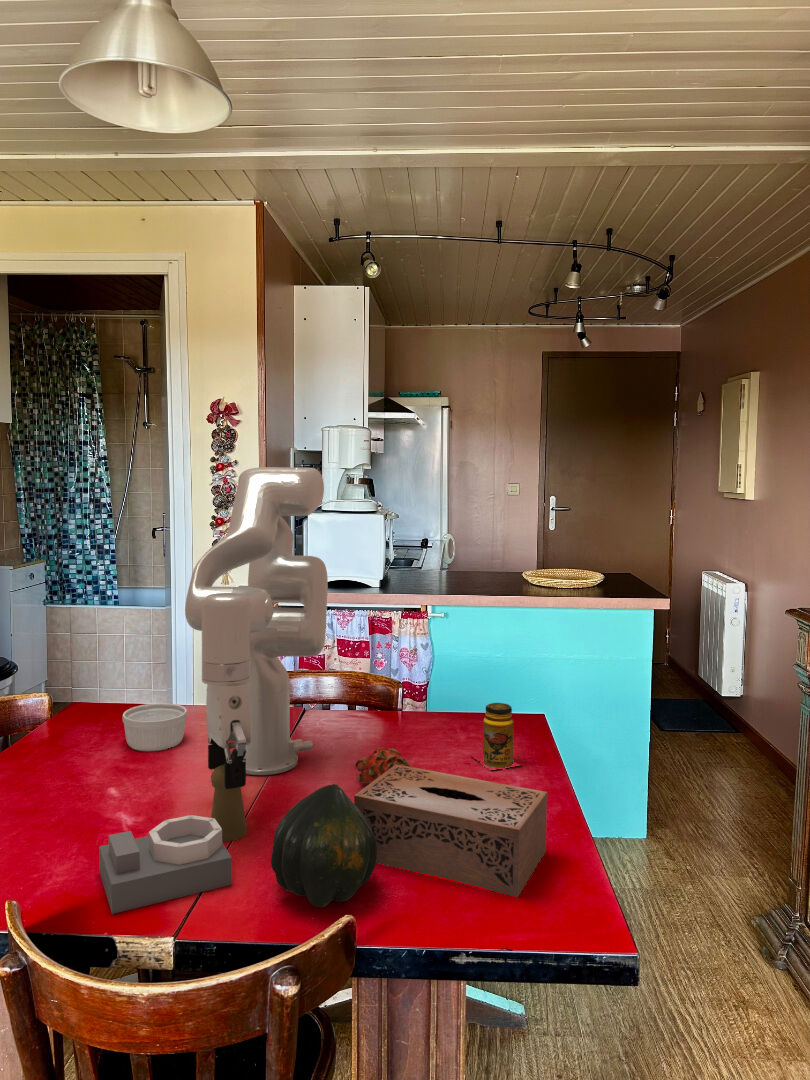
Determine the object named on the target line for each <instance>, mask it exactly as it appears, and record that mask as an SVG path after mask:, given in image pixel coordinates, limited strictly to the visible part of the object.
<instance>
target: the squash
mask: <svg viewBox="0 0 810 1080" xmlns="http://www.w3.org/2000/svg"><path fill="white" fill-rule="evenodd" d="M272 840H273V842H272V843H273V844H272V845H273V846H272V848H271V849H272V850H271V857H270V865H271V869H272V871H273V873H274V874H275V879H276V880H275V881H276V882H277V883H276V884H278V885H279V886H280V887H281V888H282V889H284V890H285V891H288V892H291V893H293V894H294V895H296V896H302V897H305V896H306V898H307V900H308V901H309V902H310V904H311V905H312V906H314V907H316V908H323V907H326V906H328V905H329V904H330V903H331V902H332V901H334V902H341V903H342V902H347V901H348V900H350V899H351V898H352V897H353V896H354V895H355V894H356V893H357V891H358V890H359V888H361V887H362V886H363V885H365V884H366V883H367V882H368V880H369V879H371V876H372V874H373V872H374V870H375V867H376V864H377V863H376V859H377V845H376V840H375V837H374V834H373V832H372V830H371V828H370V826H369V824H368V822H367V820H366V818H365V816H364V815H363V814H362V812H361V811H360V810H359V808H358V807H357V806H356V805H355V804H354V801H353V800H352V799H351V798H350V797H349V796H348V795H347V794H346V793H345V791H344V790H343V788H341V786H339V785H338V783H333V784H328V785H325V786H322V787H319V788H318V789H316V790H315V791H313V792H312V793H310V794H308V795H306V796H305V797H303V798H302V799H301V800H299V801H298V802H296V804H294V806H292V807H291V808H290V809H289V810H288V811H287V812H286V813H285V814H284V816H283V817H282V819H281V820H280V822H278V825H277V826H276V830H275V833H274V835H273V839H272Z"/></svg>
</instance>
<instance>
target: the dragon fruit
mask: <svg viewBox="0 0 810 1080" xmlns="http://www.w3.org/2000/svg"><path fill="white" fill-rule="evenodd" d="M376 749H377V750H376ZM376 749H375V750H374V751H373V752H372V754H369V755H367V756H364V757H362V758H360V759H358V760H357V761H356V762H355V765H354V766H355V769H357V771H358V772H361V773H359V774H357V773H356V779H357V783H359V784H362V783H364V784H370V783H372V782H373V781H374V780H376V779H377V778H378V777H380V776H381V775H382V774H384V773H385V772H386V771H388V770H389V769H390V768H392V767H393V766H394V765H396V764H399V765H404V766H409V767H411V765H410V762H408V760H407V758H405V757H403V755H402V753H401V752H399V751H398V750H397V749H394V748H388V747H377V748H376Z"/></svg>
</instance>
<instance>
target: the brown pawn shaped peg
mask: <svg viewBox="0 0 810 1080" xmlns="http://www.w3.org/2000/svg"><path fill="white" fill-rule="evenodd" d="M210 779H211V780H210V782H211V785H212V787H213V788H214V790H213V793H214V794H213V799H212V801H213V802H212V808H211V817H210V818H215V820H216V821H217V823H218V824H219V825H220V827H221V828H222V843H223V842H224V843H225V842H227V843H228V842H233V841H237V839H238V840H240V839H242V838H243V837H245V836H246V835H247V833H248V830H247V829H248V827H247V821H246V814H245V808H244V800H243V794H242V793H243V792H242V787H238V788H232V789H226V788H225V786H224V765H221V766H218V767H217V768H215V769H212V772H211V776H210Z"/></svg>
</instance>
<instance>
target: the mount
mask: <svg viewBox="0 0 810 1080" xmlns="http://www.w3.org/2000/svg"><path fill="white" fill-rule="evenodd" d="M98 849H99V850H98V851H99V853H98V854H99V855H98V856H99V875H100V878H101V882H102V884H103V888H104V891H105V895H106V897H107V901H108V905H109V908H110V912H111V915H114V914H119V913H122V912H126V911H130V910H134V909H138V908H142V907H147V906H150V905H155V904H159V903H163V902H167V901H171V900H174V899H178V898H182V897H187V896H191V895H195V894H198V893H200V894H201V893H202V892H206V891H207V892H208V891H211V890H215V889H220V888H223V887H228V886H232V885H233V875H232V874H233V867H232V866H233V864H232V863H233V862H232V861H233V860H232V859H233V857H232V856H231V854H230V853H229V851H228V850H227V848H226V847H225V845H224V843H223V842H222V828H221V827H220V825H219V824H218V823H217V821H216V820H215V818H211V817H206V816H199V815H194V814H193V815H192V814H190V815H184V816H180V817H176V818H175V817H174V818H169V819H165V820H164V821H162V822H161V823H159V824H158V825H156V826H155V827H154V828H152V829H150V831H148V836H144V837H143V836H142V837H138V838H135V837H134V835H133V833H132V831H131V830H128V831H123V832H122V831H121V832H118V833H113V834H109V835H108V844H105V845H100V846H99V848H98Z"/></svg>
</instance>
